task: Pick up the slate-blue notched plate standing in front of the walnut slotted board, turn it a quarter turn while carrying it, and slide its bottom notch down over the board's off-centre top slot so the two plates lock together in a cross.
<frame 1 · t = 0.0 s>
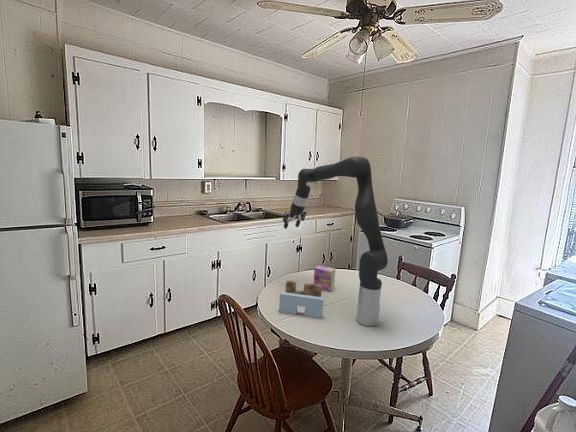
hand: (291, 227, 178), 31 cm above the table, tool tilted 20°, fingers open, 8 cm apart
slotted board: (302, 300, 158), on the table
notched plate: (300, 313, 145), on the table
box: (323, 288, 174), on the table
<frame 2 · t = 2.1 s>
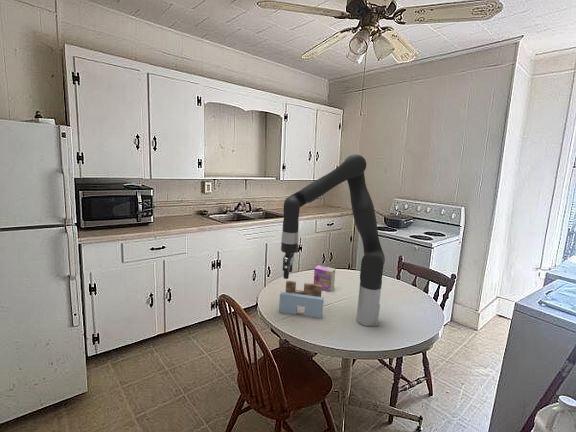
hand: (287, 275, 142), 18 cm above the table, tool pointing down, fingers open, 8 cm apart
nothing on the table moved.
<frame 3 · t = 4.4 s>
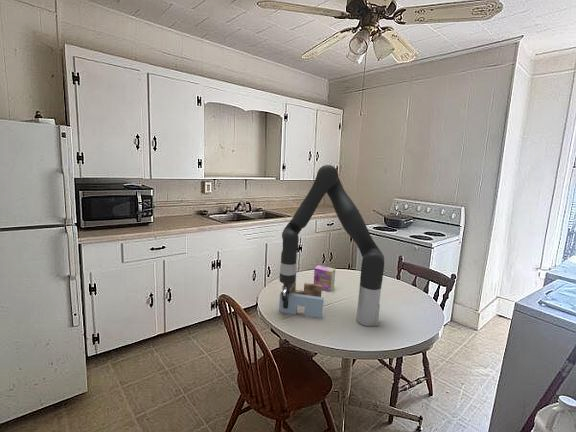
hand: (286, 306, 145), 3 cm above the table, tool pointing down, fingers closed on notched plate, 2 cm apart
notched plate: (300, 313, 145), on the table, touching gripper
everything else where it was.
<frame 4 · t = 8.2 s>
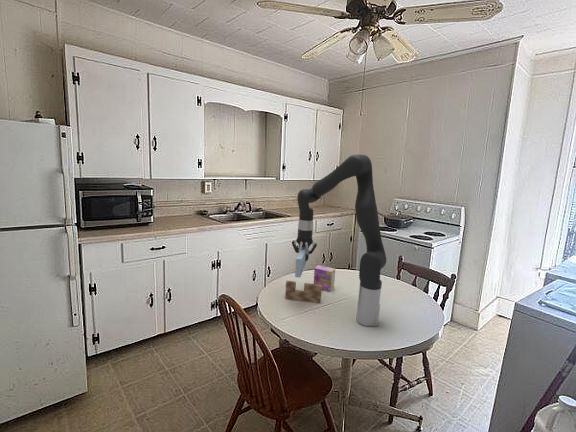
hand: (303, 260, 162), 19 cm above the table, tool pointing down, fingers closed on notched plate, 2 cm apart
notched plate: (300, 269, 155), point 16 cm above the table, touching gripper
everything else where it was.
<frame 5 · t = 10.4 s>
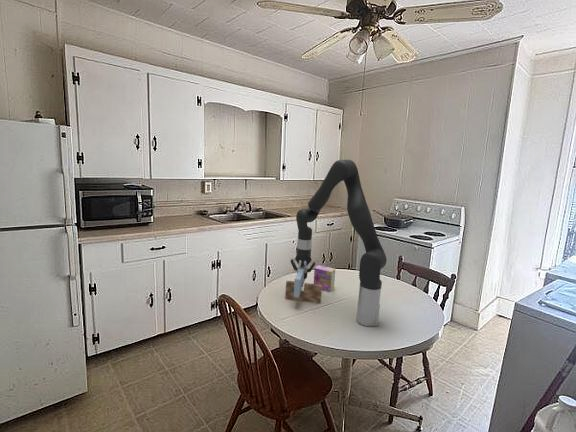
hand: (301, 278, 164), 9 cm above the table, tool pointing down, fingers closed on notched plate, 2 cm apart
notched plate: (299, 288, 157), point 6 cm above the table, touching gripper
everything else where it was.
when the fingers open (4 cm above the table, at t = 12.1 s): notched plate stays where it is, resting on slotted board.
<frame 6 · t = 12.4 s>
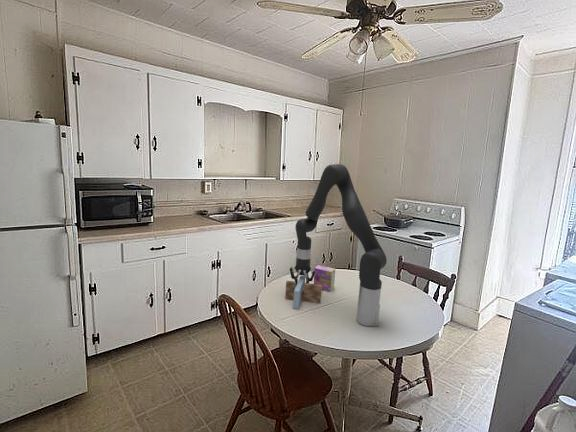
hand: (301, 287, 165), 4 cm above the table, tool pointing down, fingers open, 4 cm apart
notched plate: (298, 299, 159), resting on slotted board
everything else where it was.
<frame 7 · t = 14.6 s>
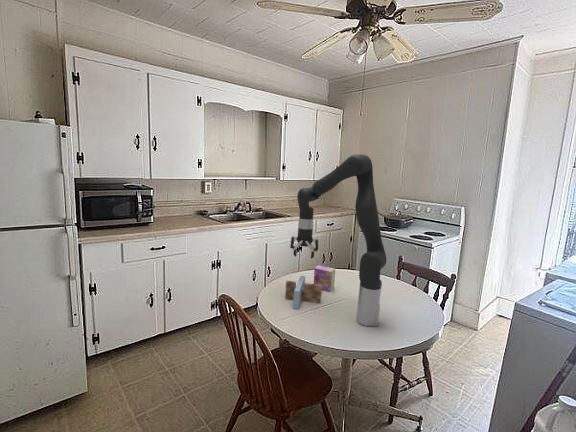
hand: (303, 257, 162), 20 cm above the table, tool pointing down, fingers open, 8 cm apart
nothing on the table moved.
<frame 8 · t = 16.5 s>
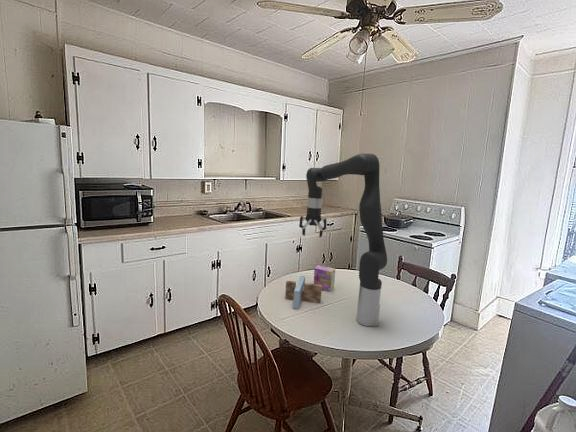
hand: (312, 236, 166), 30 cm above the table, tool pointing down, fingers open, 8 cm apart
nothing on the table moved.
at the end: notched plate 0.0 cm from the target spot on the slotted board, point 0.0 cm above the slotted board's base; notched plate tilted 0°; the gripper is holding nothing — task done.
